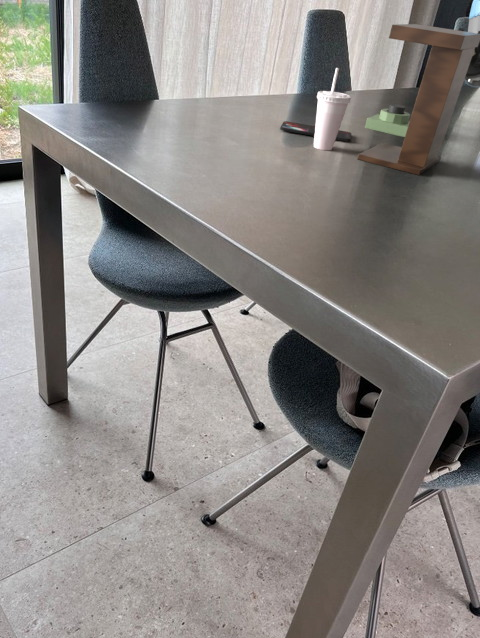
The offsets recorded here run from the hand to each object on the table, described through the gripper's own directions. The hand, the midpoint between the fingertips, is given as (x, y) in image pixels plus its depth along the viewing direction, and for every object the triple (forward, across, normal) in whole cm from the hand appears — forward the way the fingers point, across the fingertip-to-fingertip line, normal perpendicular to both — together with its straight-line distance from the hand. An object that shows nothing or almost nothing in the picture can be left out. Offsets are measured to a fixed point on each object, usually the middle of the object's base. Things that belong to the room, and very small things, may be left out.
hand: (468, 37), depth 112 cm
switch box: (-10, +11, -19) cm, 24 cm away
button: (-9, +11, -15) cm, 21 cm away
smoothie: (+20, +16, -26) cm, 36 cm away
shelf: (+15, +2, -25) cm, 29 cm away
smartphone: (+10, +22, -24) cm, 34 cm away
